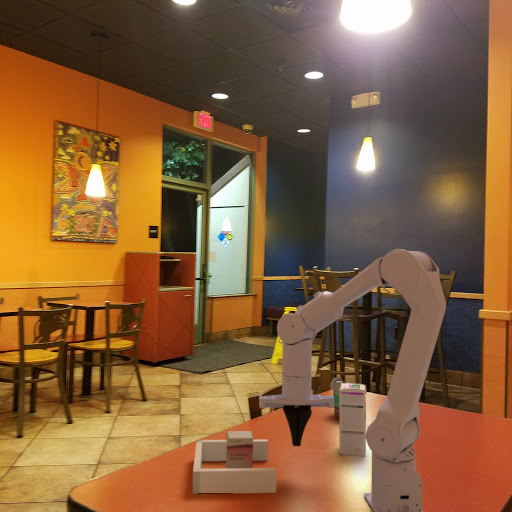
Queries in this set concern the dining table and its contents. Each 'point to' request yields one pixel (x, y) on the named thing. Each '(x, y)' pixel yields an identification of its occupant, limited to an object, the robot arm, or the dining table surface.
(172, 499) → the dining table surface
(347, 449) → the syrup box
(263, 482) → the u-shaped bracket
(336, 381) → the food container
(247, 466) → the small box
